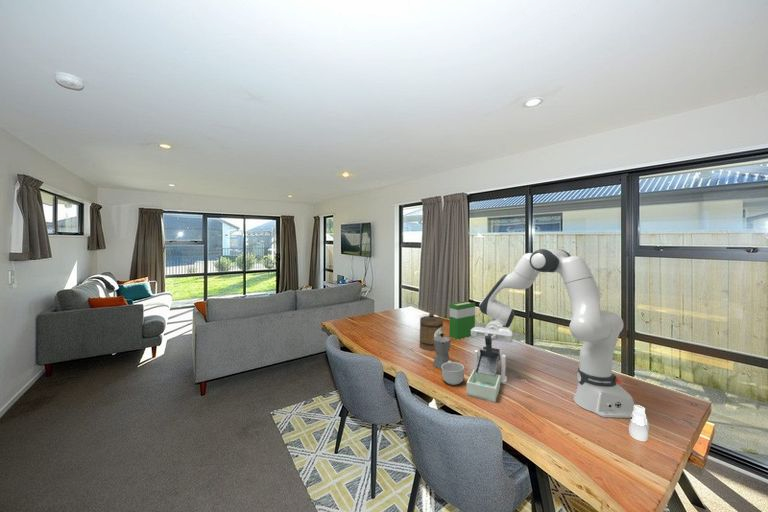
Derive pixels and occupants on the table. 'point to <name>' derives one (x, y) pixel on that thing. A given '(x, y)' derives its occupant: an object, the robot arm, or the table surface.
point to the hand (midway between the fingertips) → (488, 339)
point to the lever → (488, 359)
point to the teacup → (452, 372)
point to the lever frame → (503, 363)
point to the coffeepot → (441, 350)
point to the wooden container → (430, 331)
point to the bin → (483, 391)
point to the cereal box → (461, 319)
